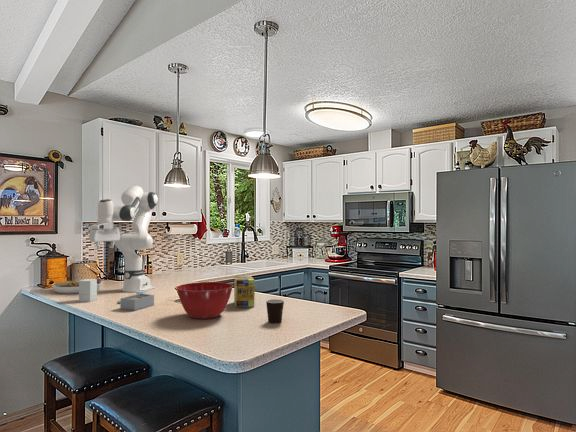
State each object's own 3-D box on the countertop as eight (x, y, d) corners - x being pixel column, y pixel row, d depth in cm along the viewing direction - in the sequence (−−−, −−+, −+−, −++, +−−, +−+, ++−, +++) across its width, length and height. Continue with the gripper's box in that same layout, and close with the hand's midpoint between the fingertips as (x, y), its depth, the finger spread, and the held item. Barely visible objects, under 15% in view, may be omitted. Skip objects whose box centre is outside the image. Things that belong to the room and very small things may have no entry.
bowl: (49, 296, 249) (49, 283, 249) (55, 288, 276) (55, 277, 277) (101, 292, 261) (101, 281, 261) (102, 285, 289) (102, 275, 289)
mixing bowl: (172, 312, 208) (172, 283, 208) (225, 307, 219) (225, 280, 220) (180, 325, 182) (180, 292, 182) (239, 319, 193) (239, 288, 194)
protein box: (236, 308, 219) (236, 280, 219) (234, 302, 234) (234, 276, 234) (254, 307, 221) (254, 279, 221) (251, 301, 236) (251, 275, 236)
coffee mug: (277, 325, 184) (277, 303, 184) (262, 322, 189) (262, 301, 189) (290, 319, 194) (290, 299, 194) (275, 317, 198) (276, 297, 199)
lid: (137, 297, 243) (137, 290, 243) (150, 298, 239) (150, 291, 239) (117, 302, 229) (117, 294, 229) (131, 303, 225) (131, 296, 225)
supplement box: (97, 299, 239) (97, 278, 239) (90, 302, 231) (90, 280, 231) (85, 299, 239) (86, 278, 240) (78, 301, 232) (78, 280, 232)
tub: (140, 303, 227) (140, 293, 227) (154, 305, 224) (154, 294, 224) (120, 309, 213) (120, 298, 214) (134, 311, 210) (134, 299, 210)
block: (139, 304, 223) (139, 295, 223) (145, 304, 222) (145, 296, 222) (136, 305, 220) (136, 296, 220) (141, 305, 219) (141, 297, 219)
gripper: (114, 225, 248) (114, 247, 248) (87, 226, 229) (87, 249, 229) (122, 225, 246) (122, 247, 246) (95, 226, 227) (95, 250, 227)
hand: (105, 248), depth 237 cm, fingers open, 8 cm apart
